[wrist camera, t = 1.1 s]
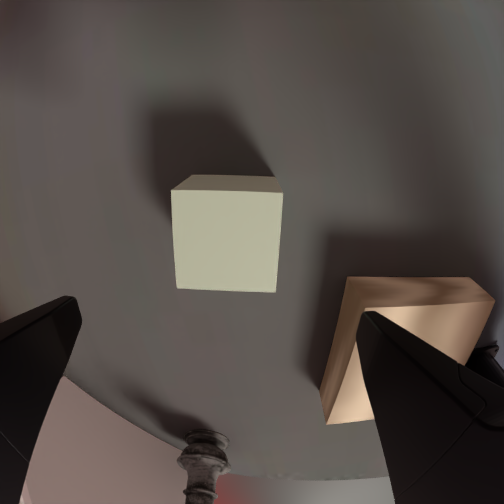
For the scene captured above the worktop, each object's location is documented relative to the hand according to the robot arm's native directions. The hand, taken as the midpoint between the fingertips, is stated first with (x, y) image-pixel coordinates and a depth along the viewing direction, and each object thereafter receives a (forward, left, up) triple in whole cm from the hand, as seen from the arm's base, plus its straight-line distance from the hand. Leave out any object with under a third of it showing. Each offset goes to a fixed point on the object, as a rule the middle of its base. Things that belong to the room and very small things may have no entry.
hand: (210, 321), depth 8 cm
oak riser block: (-14, +10, -11) cm, 20 cm away
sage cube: (0, 0, -11) cm, 11 cm away
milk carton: (+17, +30, -11) cm, 36 cm away
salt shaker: (+3, +26, -11) cm, 28 cm away
